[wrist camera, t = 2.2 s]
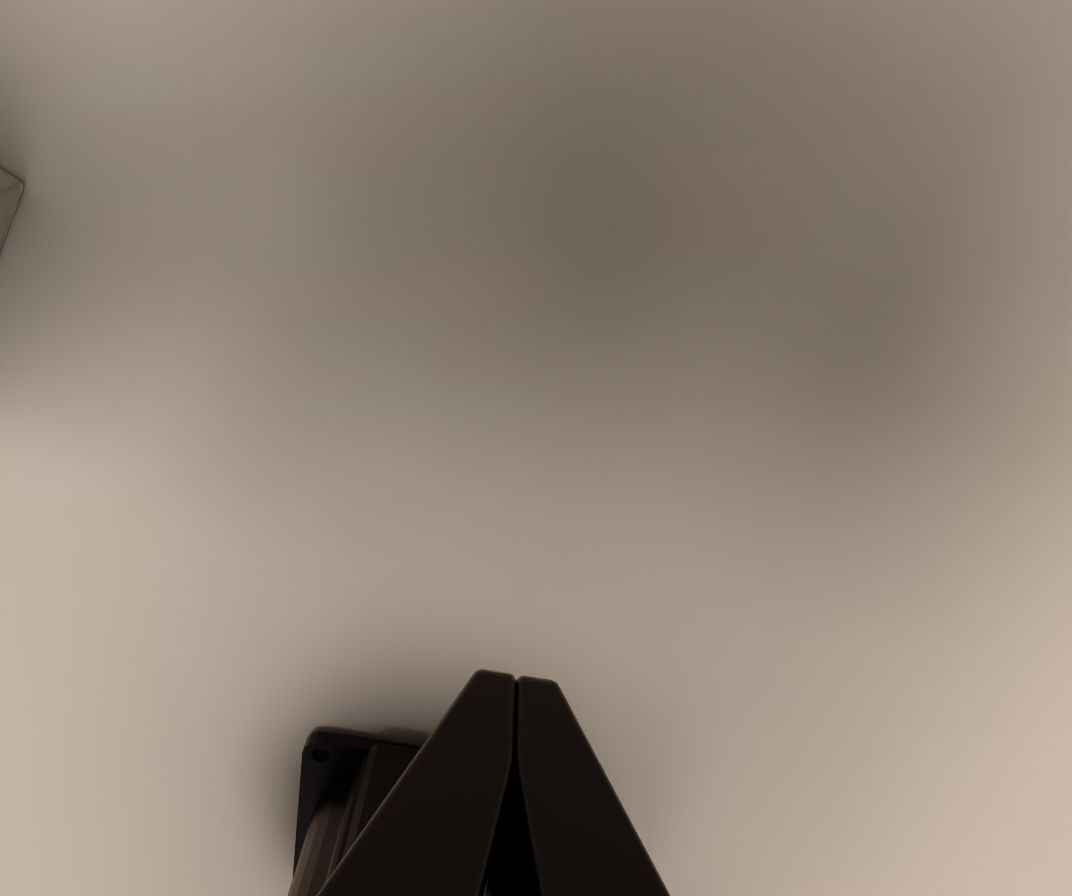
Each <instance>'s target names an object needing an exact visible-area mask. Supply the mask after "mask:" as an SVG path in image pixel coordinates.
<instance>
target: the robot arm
mask: <svg viewBox="0 0 1072 896" xmlns="http://www.w3.org/2000/svg"><path fill="white" fill-rule="evenodd" d="M319 749H323V750H326V751H321V750H319ZM288 896H670V894H669V892H668V891H667V889H666V887H665V885H664V883H663V881H662V879H661V877H660V876H659V874H658V872H657V870H656V868H655V866H654V864H653V862H652V860H651V859H650V857H649V855H648V853H647V851H646V849H645V847H644V845H643V844H642V842H641V840H640V838H639V836H638V834H637V832H636V830H635V828H634V827H633V825H632V823H631V821H630V819H629V817H628V815H627V813H626V812H625V810H624V808H623V806H622V804H621V802H620V800H619V798H618V796H617V795H616V793H615V791H614V789H613V787H612V785H611V783H610V781H609V780H608V778H607V776H606V774H605V772H604V770H603V768H602V766H601V764H600V763H599V761H598V759H597V757H596V755H595V753H594V751H593V749H592V747H591V746H590V744H589V742H588V740H587V738H586V736H585V734H584V732H583V731H582V729H581V727H580V725H579V723H578V721H577V719H576V717H575V715H574V714H573V712H572V710H571V708H570V706H569V704H568V702H567V700H566V699H565V697H564V695H563V693H562V691H561V689H560V687H559V686H558V684H557V683H556V682H554V681H552V680H548V679H541V678H535V677H529V676H521V677H519V678H518V679H517V680H515V677H514V676H513V675H512V674H509V673H503V672H497V671H490V670H484V669H480V670H478V671H476V672H475V673H474V674H473V675H472V677H471V678H470V680H469V681H468V682H467V684H466V685H465V687H464V688H463V690H462V691H461V692H460V694H459V695H458V697H457V698H456V699H455V701H454V702H453V704H452V705H451V706H450V708H449V709H448V711H447V712H446V713H445V715H444V716H443V718H442V719H441V721H440V722H439V723H438V725H437V726H436V728H435V729H434V730H433V732H432V733H431V735H430V736H429V737H428V739H427V740H426V742H425V743H424V745H423V746H417V745H410V744H403V743H397V742H390V741H383V740H377V739H370V738H363V737H357V736H350V735H343V734H337V733H330V732H316V733H312V734H311V735H310V736H309V737H308V738H307V741H306V744H305V746H304V749H303V752H302V764H301V777H300V790H299V803H298V817H297V830H296V843H295V856H294V869H293V880H292V883H291V887H290V890H289V893H288Z"/></svg>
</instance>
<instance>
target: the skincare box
mask: <svg viewBox="0 0 1072 896" xmlns="http://www.w3.org/2000/svg"><path fill="white" fill-rule="evenodd" d="M22 192H23V184H22V183H21V181H19V180H18V179H16V178H15V177H13V176H12V175H10V174H9V173H7V172H5V171H3V170H2V169H0V247H1V245H2V243H3V241H4V238H5V236H6V233H7V230H8V228H9V225H10V223H11V220H12V218H13V215H14V213H15V210H16V208H17V205H18V203H19V200H20V197H21V194H22Z"/></svg>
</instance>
